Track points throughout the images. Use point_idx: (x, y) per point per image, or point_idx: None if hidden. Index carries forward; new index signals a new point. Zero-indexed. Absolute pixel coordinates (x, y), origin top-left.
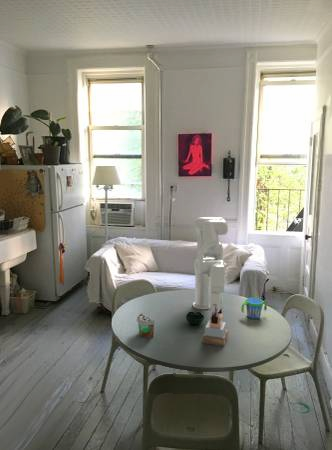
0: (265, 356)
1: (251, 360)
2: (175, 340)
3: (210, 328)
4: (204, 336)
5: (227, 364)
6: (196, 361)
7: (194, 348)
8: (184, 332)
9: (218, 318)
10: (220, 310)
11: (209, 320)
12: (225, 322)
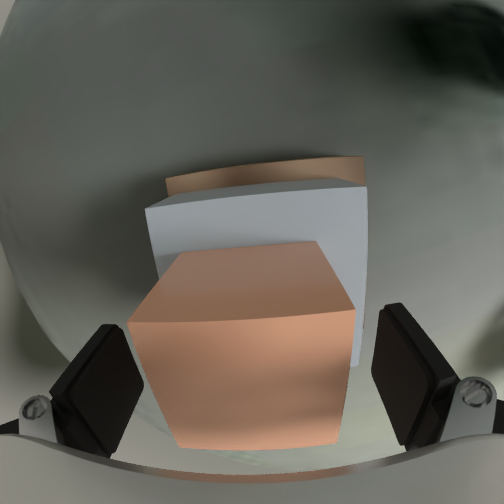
0: (216, 451)
1: (157, 422)
2: (142, 11)
3: (159, 268)
4: (169, 190)
5: (73, 354)
6: (16, 229)
7: (94, 158)
8: (279, 4)
9: (174, 424)
10: (399, 431)
11: (356, 192)
12: (356, 362)
